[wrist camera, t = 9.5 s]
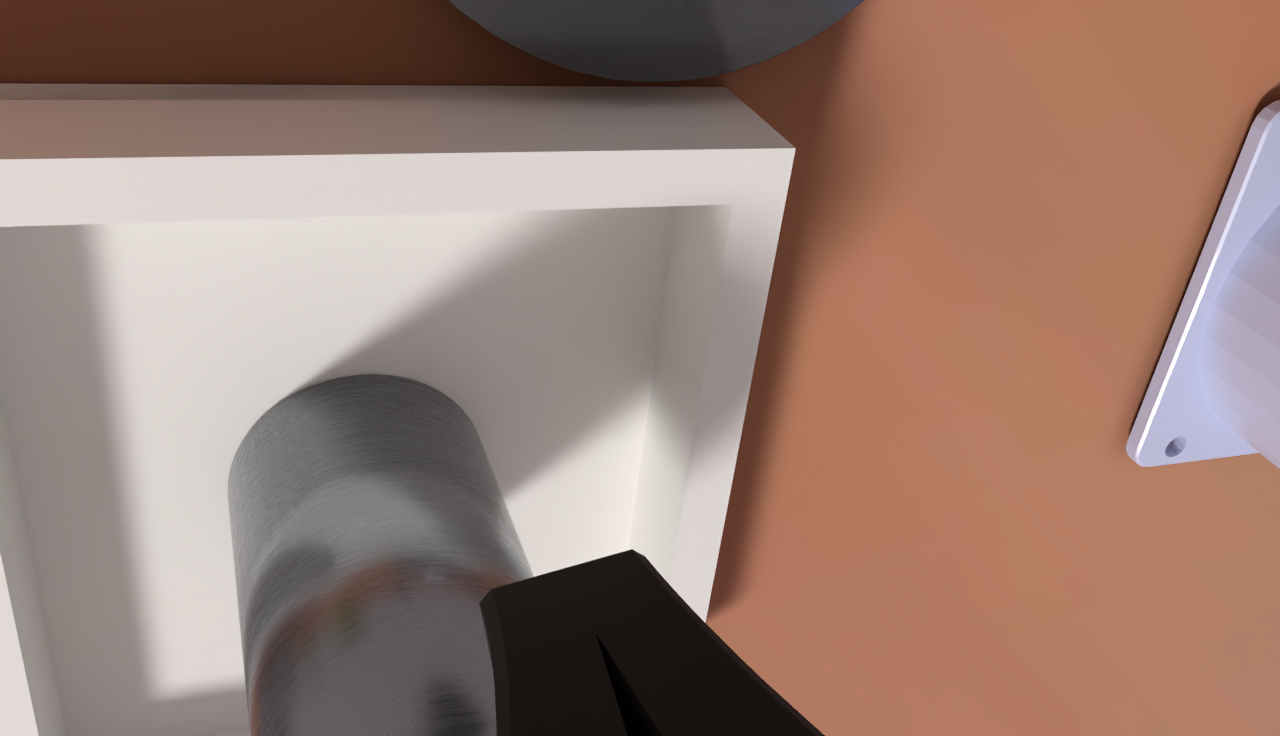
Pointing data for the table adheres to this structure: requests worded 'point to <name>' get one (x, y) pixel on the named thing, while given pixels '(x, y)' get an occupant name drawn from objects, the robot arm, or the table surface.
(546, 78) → the table surface
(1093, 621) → the table surface
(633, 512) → the tray
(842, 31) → the table surface
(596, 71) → the crank base
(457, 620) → the cylinder
